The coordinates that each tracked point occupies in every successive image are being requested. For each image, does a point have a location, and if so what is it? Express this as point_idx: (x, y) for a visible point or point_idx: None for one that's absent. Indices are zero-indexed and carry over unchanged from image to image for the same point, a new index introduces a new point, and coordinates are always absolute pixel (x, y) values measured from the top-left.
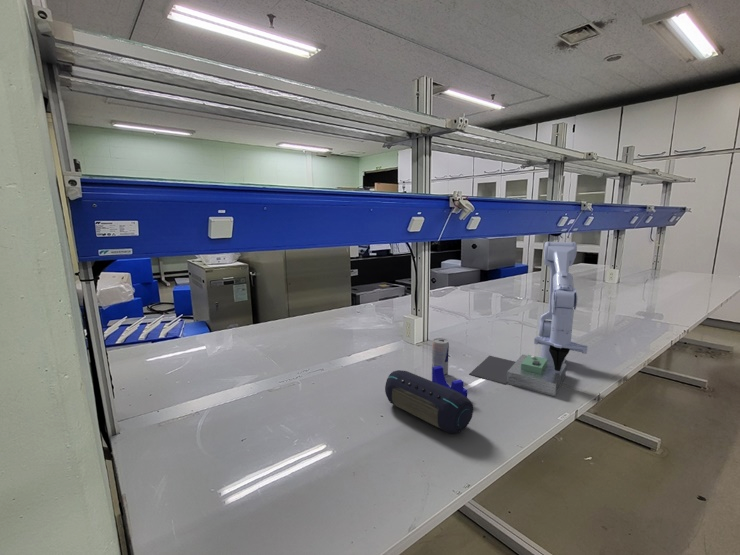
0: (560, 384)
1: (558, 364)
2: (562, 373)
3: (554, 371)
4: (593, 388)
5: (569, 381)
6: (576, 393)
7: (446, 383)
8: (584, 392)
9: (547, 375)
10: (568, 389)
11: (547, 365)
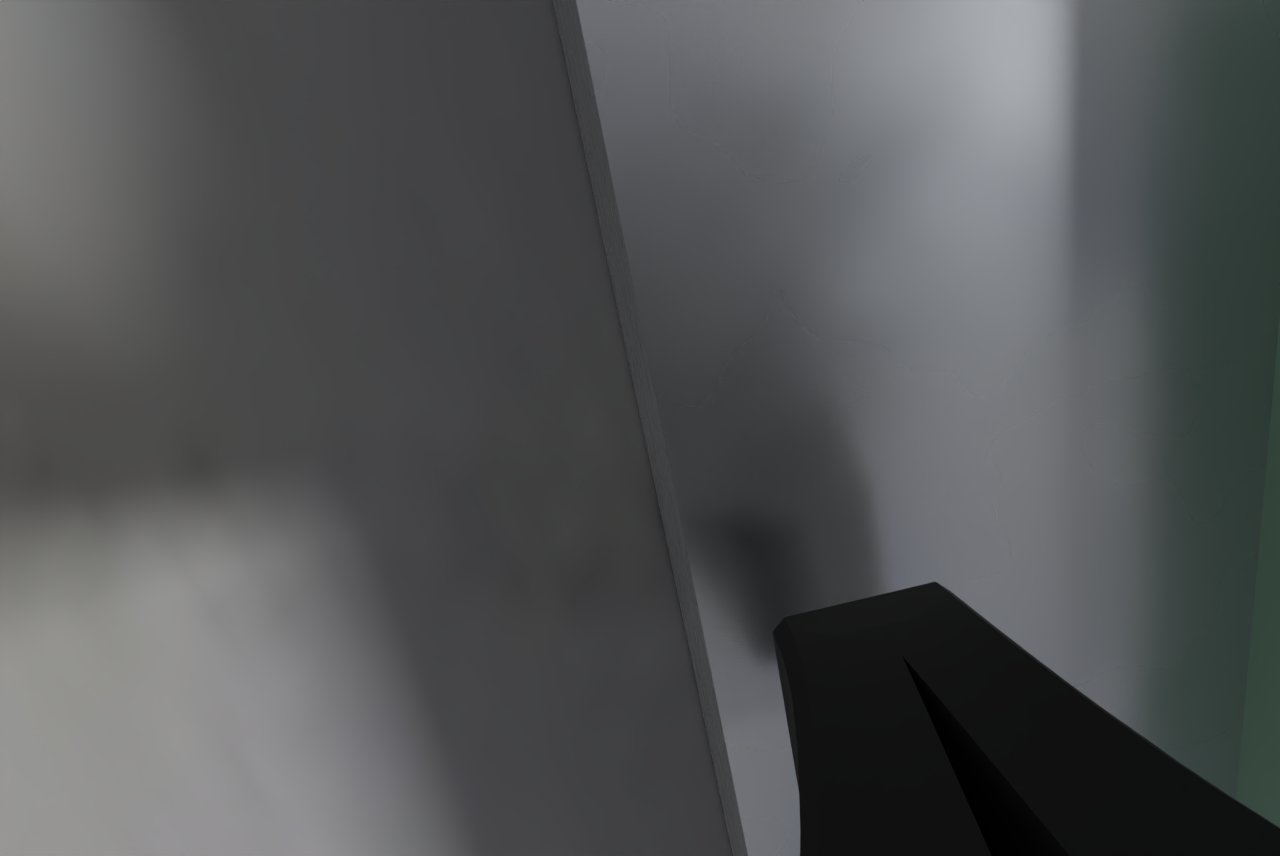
0: (645, 438)
1: (931, 791)
2: (723, 755)
3: None
4: (71, 836)
5: (579, 767)
6: (153, 307)
7: None
8: (66, 516)
9: (1062, 79)
10: (407, 375)
11: None
